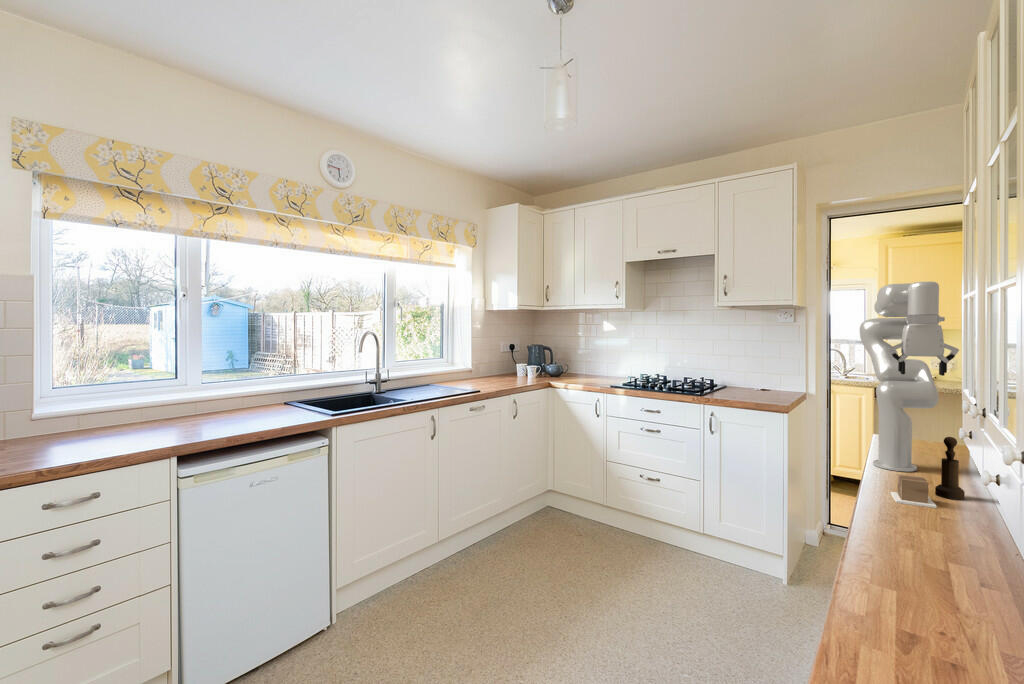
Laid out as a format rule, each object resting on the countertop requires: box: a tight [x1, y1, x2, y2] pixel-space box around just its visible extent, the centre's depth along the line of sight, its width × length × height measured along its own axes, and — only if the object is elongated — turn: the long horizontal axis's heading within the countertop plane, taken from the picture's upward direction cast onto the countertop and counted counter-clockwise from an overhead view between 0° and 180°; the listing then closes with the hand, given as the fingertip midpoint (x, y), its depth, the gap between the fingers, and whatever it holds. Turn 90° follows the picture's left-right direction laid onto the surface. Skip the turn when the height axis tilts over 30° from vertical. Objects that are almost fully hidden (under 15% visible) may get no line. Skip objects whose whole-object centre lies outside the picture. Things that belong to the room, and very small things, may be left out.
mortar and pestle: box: [934, 436, 966, 501], centre depth 146 cm, size 7×6×18 cm
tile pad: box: [890, 491, 938, 509], centre depth 143 cm, size 9×9×1 cm
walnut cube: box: [897, 473, 929, 503], centre depth 143 cm, size 6×6×6 cm
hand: (921, 374), depth 154 cm, fingers open, 9 cm apart
